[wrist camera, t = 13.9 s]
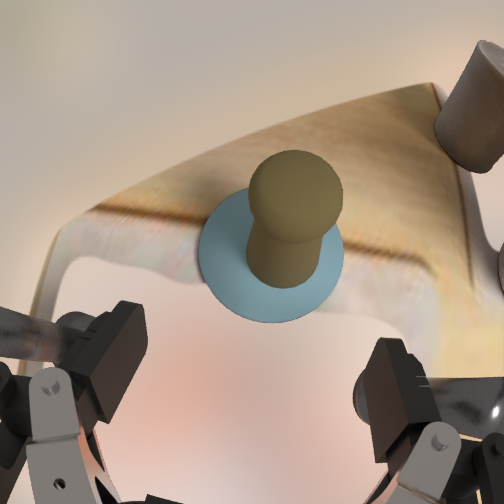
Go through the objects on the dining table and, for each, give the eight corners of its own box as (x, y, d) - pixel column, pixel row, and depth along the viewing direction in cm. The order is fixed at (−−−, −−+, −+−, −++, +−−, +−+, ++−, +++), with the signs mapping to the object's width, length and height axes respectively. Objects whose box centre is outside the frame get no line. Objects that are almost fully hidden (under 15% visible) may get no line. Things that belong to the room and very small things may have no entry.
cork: (236, 229, 26) (225, 147, 16) (304, 211, 27) (329, 125, 16) (258, 298, 24) (259, 250, 14) (329, 276, 25) (377, 216, 15)
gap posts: (419, 358, 23) (538, 342, 10) (411, 425, 21) (524, 456, 8) (64, 308, 25) (-47, 260, 12) (53, 370, 23) (-64, 357, 10)
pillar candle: (501, 177, 29) (566, 106, 15) (447, 170, 29) (515, 78, 15) (475, 120, 33) (522, 47, 19) (422, 109, 33) (466, 19, 19)
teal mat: (342, 199, 28) (344, 194, 27) (336, 330, 24) (338, 329, 23) (214, 183, 29) (213, 178, 28) (188, 311, 25) (186, 310, 24)
